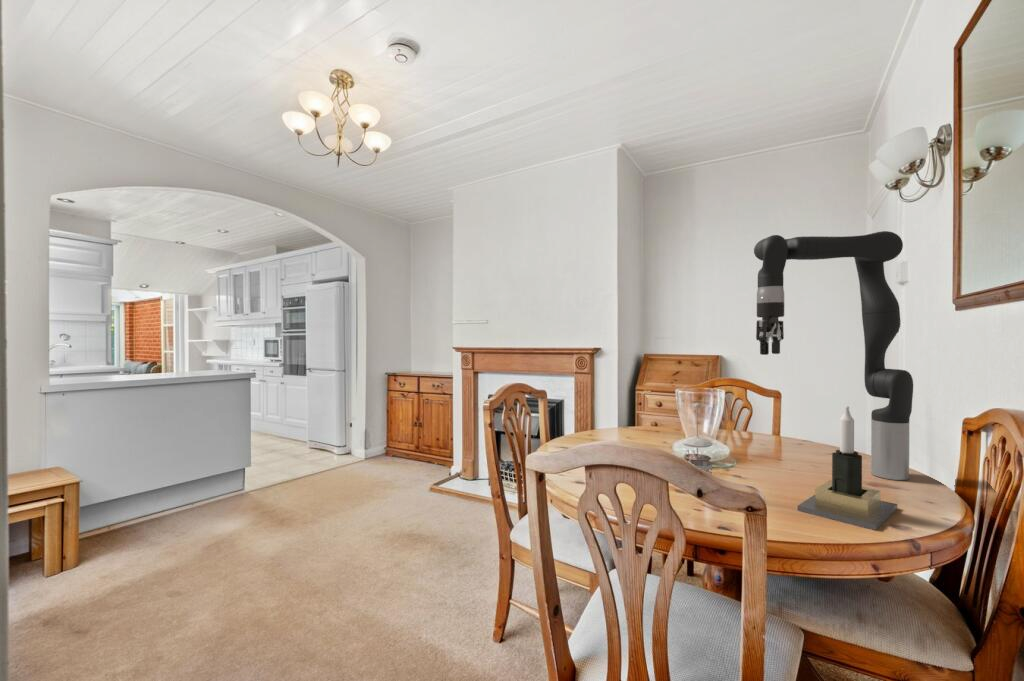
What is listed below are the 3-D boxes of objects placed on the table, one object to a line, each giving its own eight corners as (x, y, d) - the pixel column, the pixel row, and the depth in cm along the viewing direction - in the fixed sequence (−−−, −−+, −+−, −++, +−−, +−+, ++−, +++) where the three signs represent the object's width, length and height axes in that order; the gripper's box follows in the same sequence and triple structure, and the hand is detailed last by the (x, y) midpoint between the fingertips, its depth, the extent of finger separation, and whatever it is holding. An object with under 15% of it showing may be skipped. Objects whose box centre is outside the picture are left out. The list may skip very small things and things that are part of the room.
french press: (721, 490, 134) (721, 403, 134) (704, 501, 126) (704, 407, 126) (688, 483, 141) (688, 399, 141) (669, 492, 133) (669, 404, 133)
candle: (863, 506, 118) (864, 406, 118) (850, 509, 116) (850, 408, 116) (843, 499, 123) (843, 404, 123) (829, 502, 121) (830, 405, 121)
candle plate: (824, 492, 132) (824, 474, 132) (897, 508, 120) (897, 489, 120) (797, 510, 119) (797, 490, 119) (875, 530, 107) (875, 508, 107)
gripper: (773, 300, 139) (773, 355, 139) (792, 301, 148) (792, 353, 148) (747, 301, 144) (747, 354, 145) (767, 303, 153) (767, 353, 154)
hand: (770, 354), depth 146 cm, fingers open, 8 cm apart
